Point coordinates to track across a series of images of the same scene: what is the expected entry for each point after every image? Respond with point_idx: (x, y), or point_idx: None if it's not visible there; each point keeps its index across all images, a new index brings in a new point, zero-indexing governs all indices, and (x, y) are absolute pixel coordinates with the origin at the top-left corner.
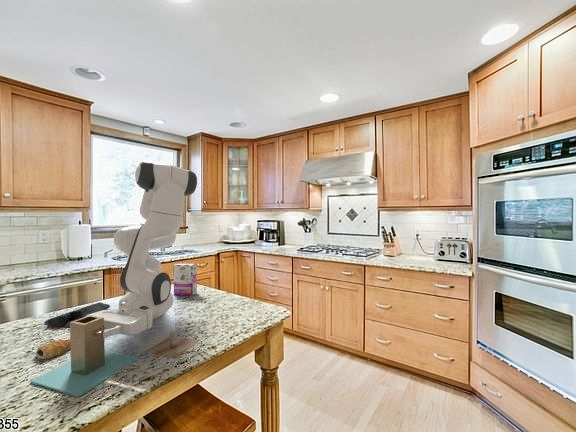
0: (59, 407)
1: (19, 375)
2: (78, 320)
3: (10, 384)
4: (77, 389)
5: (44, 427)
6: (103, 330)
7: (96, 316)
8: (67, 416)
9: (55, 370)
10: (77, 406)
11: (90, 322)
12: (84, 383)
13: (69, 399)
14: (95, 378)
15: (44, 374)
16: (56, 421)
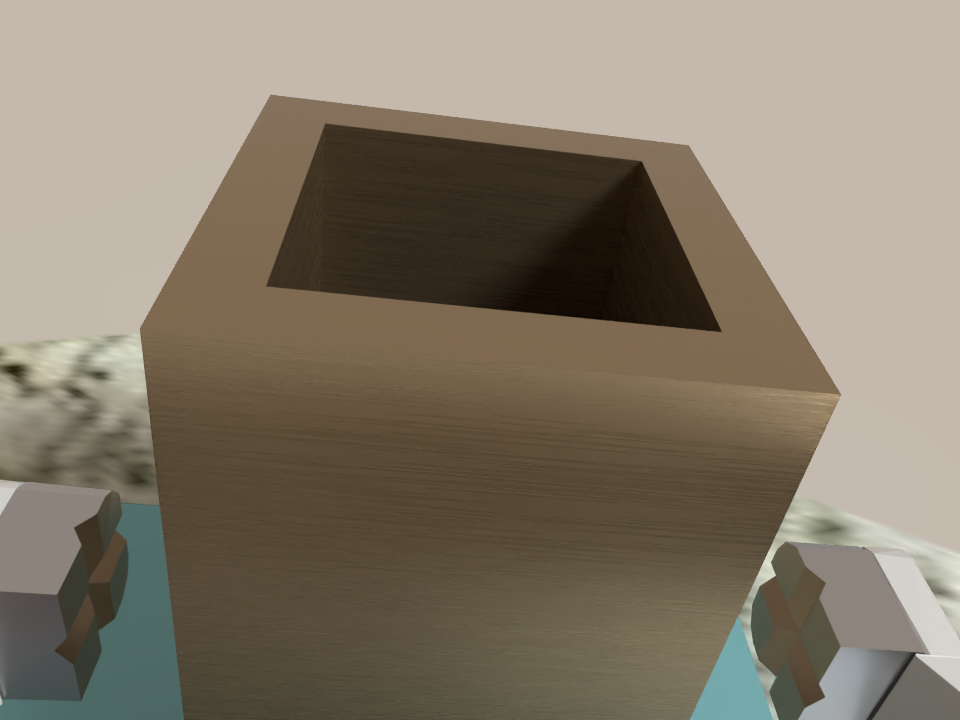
0: (148, 434)
1: (951, 614)
2: (656, 195)
3: (826, 526)
4: (153, 545)
5: (90, 336)
6: (179, 625)
7: (480, 341)
8: (8, 394)
9: (726, 710)
10: (6, 457)
11: (249, 146)
12: (159, 618)
13: (146, 493)
14: (97, 708)
15: (731, 634)
16: (52, 365)
